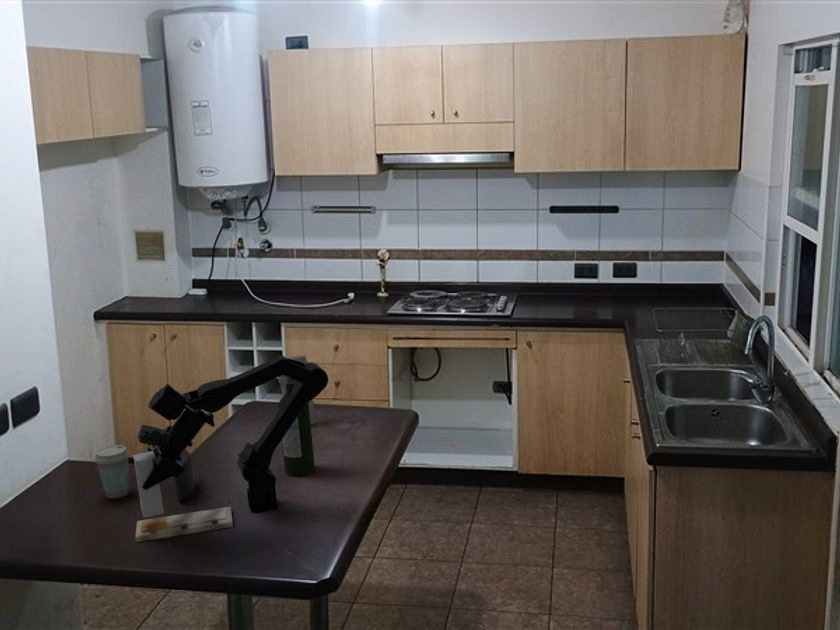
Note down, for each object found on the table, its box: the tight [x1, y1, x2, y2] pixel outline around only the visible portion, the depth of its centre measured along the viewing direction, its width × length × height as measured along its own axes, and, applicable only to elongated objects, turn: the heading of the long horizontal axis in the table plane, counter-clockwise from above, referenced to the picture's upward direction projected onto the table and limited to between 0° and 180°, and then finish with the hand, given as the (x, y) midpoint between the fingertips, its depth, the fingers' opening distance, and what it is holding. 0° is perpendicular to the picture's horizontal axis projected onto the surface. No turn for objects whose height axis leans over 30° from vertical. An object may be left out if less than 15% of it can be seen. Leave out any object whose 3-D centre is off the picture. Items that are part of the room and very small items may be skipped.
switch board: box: [134, 506, 234, 543], centre depth 231 cm, size 22×9×2 cm, turn 103°
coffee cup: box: [94, 444, 130, 499], centre depth 251 cm, size 9×9×12 cm
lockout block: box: [132, 451, 165, 519], centre depth 227 cm, size 4×4×14 cm
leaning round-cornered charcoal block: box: [174, 449, 196, 502], centre depth 251 cm, size 16×5×9 cm, turn 15°
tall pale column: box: [277, 355, 316, 426], centre depth 291 cm, size 11×4×22 cm, turn 118°
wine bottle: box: [277, 376, 316, 477], centre depth 256 cm, size 8×8×30 cm
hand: (142, 485), depth 227 cm, fingers closed on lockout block, 4 cm apart
